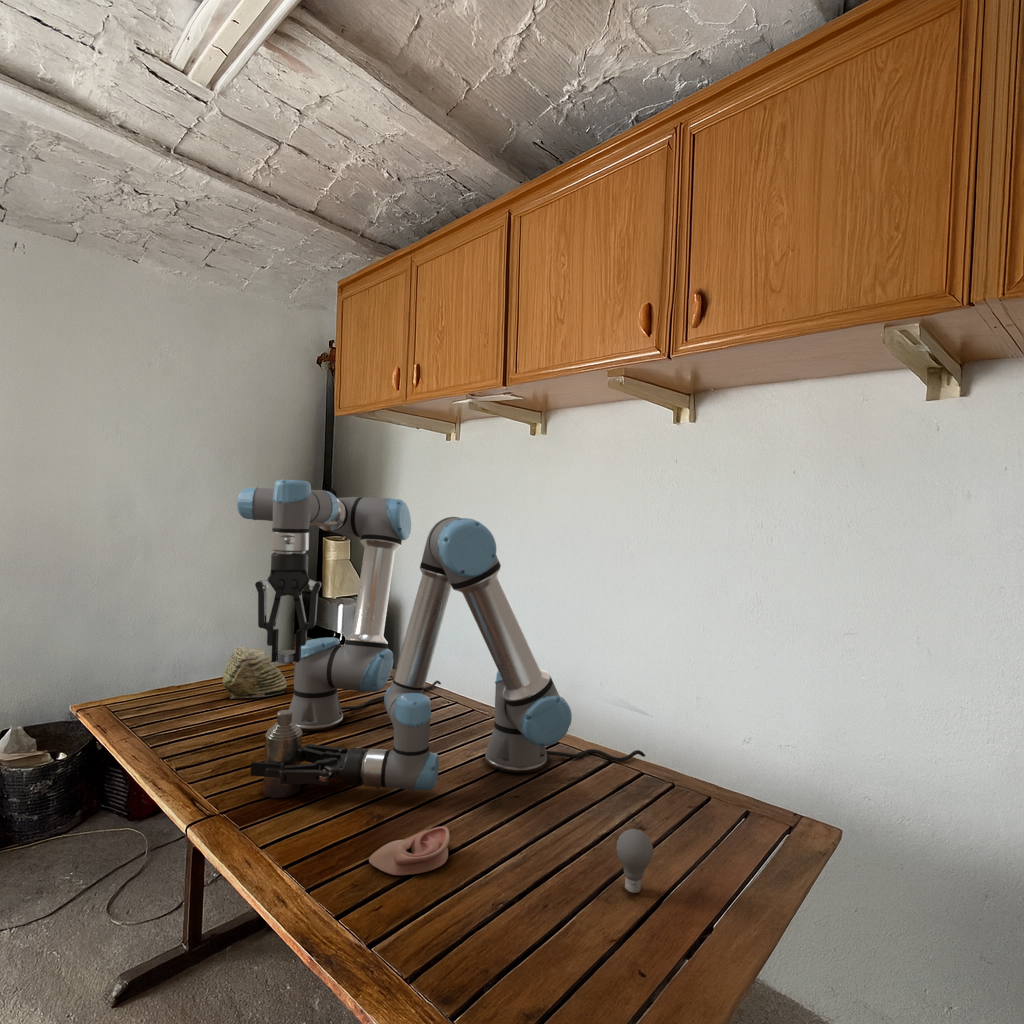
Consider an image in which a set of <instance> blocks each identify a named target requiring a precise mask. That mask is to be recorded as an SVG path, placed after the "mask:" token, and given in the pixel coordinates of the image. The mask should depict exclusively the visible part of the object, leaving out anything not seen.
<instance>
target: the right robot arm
mask: <svg viewBox="0 0 1024 1024" xmlns="http://www.w3.org/2000/svg"><path fill="white" fill-rule="evenodd" d="M419 570H420V572H421V579H420V582H419V585H418V588H417V592H416V595H415V599H414V603H413V607H412V610H411V613H410V617H409V621H408V624H407V627H406V631H405V635H404V638H403V642H402V646H401V650H400V653H399V655H398V661H397V664H396V667H395V671H394V675H393V677H392V682H391V684H390V686H389V687H388V689H387V690H386V691H385V693H384V696H385V697H384V699H383V703H384V709H385V711H386V713H387V715H388V717H389V719H390V722H391V725H392V726H393V747H392V749H383V748H369V749H367V748H363V747H350V748H348V747H335V746H328V745H321V744H313V743H307V744H305V746H302V752H301V764H298V765H286V766H284V762H282V763H270V762H264V761H256V760H255V761H251V763H250V777H263V778H264V777H278V778H280V784H300V785H320V786H321V785H322V786H328V785H329V784H330V779H340V778H341V779H342V781H343V785H345V786H349V787H362V786H364V787H369V788H375V789H376V790H380V789H381V788H384V789H397V790H406V791H407V790H409V791H414V792H415V791H431V790H433V789H435V787H436V785H437V782H438V777H439V771H440V770H439V768H440V758H439V754H438V753H436V752H432V751H430V732H431V731H430V730H431V717H432V711H431V699H430V697H429V696H428V695H425V694H424V691H425V690H424V688H425V687H426V683H427V679H428V675H429V672H430V668H431V665H432V661H433V657H434V654H435V650H436V647H437V643H438V640H439V636H440V633H441V629H442V626H443V623H444V618H445V615H446V611H447V609H448V608H447V607H448V604H449V601H450V598H451V594H452V590H453V591H457V592H460V593H462V595H463V598H464V600H465V602H466V604H467V606H468V609H469V611H470V613H471V614H472V617H473V619H474V620H475V623H476V626H477V628H478V630H479V632H480V634H481V636H482V638H483V641H484V643H485V645H486V647H487V649H488V651H489V654H490V656H491V658H492V660H493V662H494V664H495V666H496V669H497V672H496V677H495V681H494V684H495V690H494V691H495V692H494V694H495V695H494V715H493V717H494V719H493V729H492V732H491V736H490V738H489V741H488V743H487V746H486V748H485V753H484V755H485V756H484V760H485V763H486V764H487V765H488V766H489V767H490V768H492V769H494V770H496V771H500V772H503V773H509V774H529V773H530V774H531V773H536V772H537V771H540V770H542V769H544V768H545V767H546V766H547V763H548V756H556V757H563V758H570V759H578V758H583V757H584V756H586V755H588V754H597V755H599V756H602V757H604V758H606V759H608V760H611V761H614V762H620V763H621V762H626V761H629V760H630V759H632V758H633V757H635V756H636V755H640V757H643V758H644V757H646V754H645V753H644V752H643V751H642V750H639V749H636V750H634V751H632V752H631V753H629V754H628V755H626V756H622V757H621V756H619V757H618V756H612V755H610V754H608V753H606V752H604V751H602V750H600V749H594V748H588V749H585V750H583V751H581V752H579V753H568V752H562V751H552V750H547V749H546V747H549V746H553V745H554V744H555V745H556V744H558V742H560V741H561V740H562V739H563V738H564V737H565V736H566V735H567V733H568V732H569V728H570V726H571V724H572V720H573V718H572V717H573V716H572V715H573V714H572V709H571V707H570V705H569V704H568V702H567V701H566V699H565V698H564V697H562V696H561V695H560V693H559V691H558V690H557V689H558V688H556V685H555V682H554V681H553V678H552V676H551V674H550V673H549V672H548V671H547V670H546V669H545V670H544V669H541V668H540V666H539V663H538V662H537V660H536V657H535V655H534V653H533V651H532V649H531V646H530V644H529V642H528V639H527V637H526V635H525V633H524V631H523V628H522V625H521V624H520V621H519V620H518V617H517V615H516V613H515V611H514V608H513V606H512V604H511V602H510V599H509V597H508V595H507V593H506V591H505V588H504V586H503V584H502V581H501V579H500V577H499V575H500V572H501V570H502V564H501V562H500V560H499V557H498V555H497V542H496V540H495V537H494V535H493V533H492V532H491V530H489V528H488V527H487V526H485V525H484V524H483V523H481V522H480V521H478V520H476V519H473V518H467V517H458V516H448V517H444V518H442V519H440V520H439V521H437V522H436V523H435V524H434V525H433V526H432V528H431V529H430V530H429V533H428V534H427V537H426V542H425V546H424V549H423V554H422V558H421V562H420V565H419ZM423 690H424V691H423ZM302 762H308V763H302Z"/></svg>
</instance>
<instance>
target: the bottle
mask: <svg viewBox="0 0 1024 1024" xmlns="http://www.w3.org/2000/svg"><path fill="white" fill-rule="evenodd" d="M276 716H277V718H276V722H275V723H274V724H273V725H272V726H271V727H270V728H269V729H268V730H267V731H266V733H265V736H264V737H265V739H264V761H263V762H270V763H282V762H284V766H286V765H298V764H302V762H301V752H302V747H303V732H302V731H301V728H299V727H298V726H297V725H296V724H295V723H293V722H292V711H291V710H289V709H281V710H278V711H277V712H276ZM262 789H263V790H262V792H263V795H264V796H265V797H267V798H271V799H284V798H289V797H292V796H294V795H296V794H298V793H299V792H300V790H301V784H280V778H278V777H263V788H262Z"/></svg>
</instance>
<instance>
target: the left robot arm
mask: <svg viewBox="0 0 1024 1024" xmlns="http://www.w3.org/2000/svg"><path fill="white" fill-rule="evenodd" d="M236 508H237V512H238V514H239V515H240V516H241V517H242V518H243V519H245V520H252V521H266V522H267V521H268V522H272V531H271V550H272V551H274V552H272V553H271V555H270V573H269V575H268V577H267V578H265V579H262V580H257V581H256V582H255V583H254V584H255V588H256V592H257V611H258V612H257V626H258V628H259V629H264V630H265V631H266V633H267V635H266V645H267V646H268V647H271V659H272V660H271V662H274V663H277V661H276V652H278V651H279V633H280V630H279V628H276V627H277V625H276V624H277V621H278V617H279V614H280V609H281V605H282V601H283V599H284V597H286V596H291V597H293V601H294V606H295V610H296V617H297V622H298V628H299V629H297V630H296V631H295V648H294V651H295V661H294V672H293V695H292V696H293V697H292V699H291V702H290V704H289V708H288V710H291V711H292V722H293V723H295V724H296V725H297V726H298V727H299V728H301V731H302V733H316V732H325V731H329V730H332V729H335V728H337V727H339V726H340V725H342V723H343V722H344V714H343V711H345V710H357V709H358V710H359V709H362V708H364V707H365V706H367V705H369V704H371V703H373V702H376V701H380V700H384V697H385V695H382V696H378V697H377V696H376V697H373V698H371V699H369V700H367V701H365V702H363V703H362V704H359V705H348V706H341V702H340V699H339V695H338V689H339V690H347V691H357V692H361V693H366V692H367V693H377V692H379V691H381V690H382V689H383V688H384V687H385V685H386V684H387V683H388V681H389V679H390V676H391V675H392V670H393V668H394V667H393V666H394V653H393V651H392V650H390V649H389V648H388V645H389V642H388V641H387V639H386V638H385V636H384V635H385V627H386V621H387V620H386V619H387V612H388V605H389V597H390V591H391V584H392V583H391V582H392V575H393V570H394V569H393V568H394V561H395V556H396V555H395V554H396V551H398V550H399V549H400V548H401V547H402V542H403V541H405V540H408V539H409V537H410V535H411V533H412V532H411V531H412V517H411V512H410V509H409V507H408V505H407V503H406V502H405V501H404V500H402V499H397V498H391V497H360V496H350V497H349V496H347V497H336V495H335V494H333V493H332V492H331V491H328V490H325V489H312V486H311V483H310V481H308V480H301V479H300V480H299V479H298V480H297V479H277V480H276V481H275V482H274V485H273V487H271V488H270V487H267V488H266V487H258V486H256V487H246V488H244V489H241V491H240V492H239V494H238V496H237V501H236ZM310 526H313V527H318V528H319V529H321V530H323V531H325V532H332V533H336V534H339V535H340V534H341V535H345V536H349V537H355V538H360V540H359V542H360V544H361V546H362V547H363V548H364V550H363V557H362V563H361V570H360V577H359V584H358V590H357V597H356V604H355V611H354V617H353V625H352V632H351V633H350V634H349V635H348V636H347V637H346V638H345V640H344V644H340V643H341V641H340V639H339V638H338V637H334V636H333V637H318V638H313V639H307V637H308V630H311V629H314V628H315V626H316V624H317V616H318V615H317V614H318V601H319V592H320V589H321V587H322V582H321V581H316V580H313V579H311V576H310V575H309V554H308V553H307V551H309V549H310ZM269 584H270V587H272V589H273V591H274V592H275V594H274V598H273V603H272V607H271V611H270V615H269V619H267V617H268V616H267V615H268V614H267V613H268V611H267V610H268V606H267V605H268V604H267V603H268V602H267V599H268V597H267V596H268V593H267V590H268V588H269ZM307 585H308V587H309V591H311V592H310V600H309V614H308V622H307V617H306V611H305V606H304V601H303V600H304V599H303V590H304V589H305V588H306V587H307ZM437 684H438V685H442V682H441V681H440V680H435V681H434V682H433V683H432V684H430V685H428V686H425V687H424V690H423V692H424V691H427V690H429V689H432V688H433V687H435V686H436V685H437Z"/></svg>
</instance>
